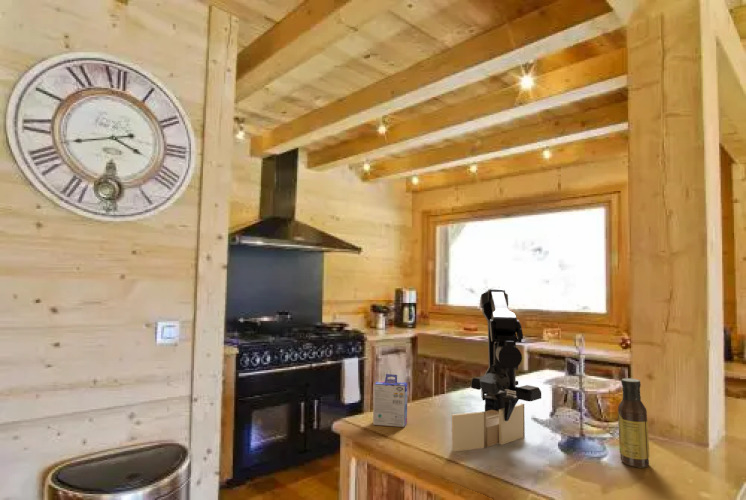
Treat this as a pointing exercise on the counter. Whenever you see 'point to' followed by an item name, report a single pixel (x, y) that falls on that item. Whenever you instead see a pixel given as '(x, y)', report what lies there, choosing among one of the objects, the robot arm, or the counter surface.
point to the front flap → (468, 431)
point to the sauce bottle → (633, 426)
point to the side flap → (512, 425)
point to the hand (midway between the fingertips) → (504, 420)
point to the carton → (492, 427)
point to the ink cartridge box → (390, 402)
